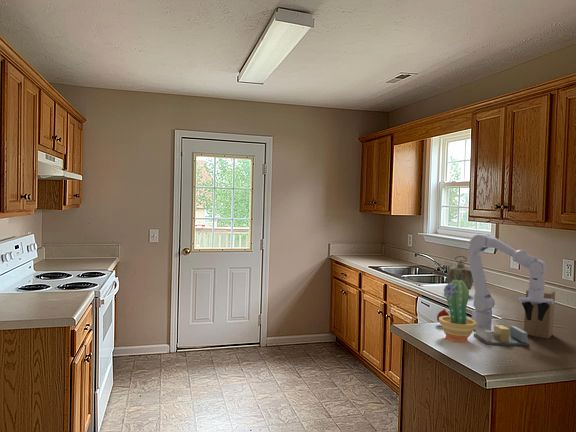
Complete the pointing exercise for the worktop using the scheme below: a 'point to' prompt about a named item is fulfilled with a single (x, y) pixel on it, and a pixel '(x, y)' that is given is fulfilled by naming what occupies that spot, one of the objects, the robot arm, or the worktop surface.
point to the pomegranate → (442, 314)
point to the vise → (489, 338)
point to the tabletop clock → (460, 274)
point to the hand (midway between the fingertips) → (534, 320)
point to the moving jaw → (518, 334)
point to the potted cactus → (457, 313)
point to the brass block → (501, 332)
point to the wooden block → (544, 326)
